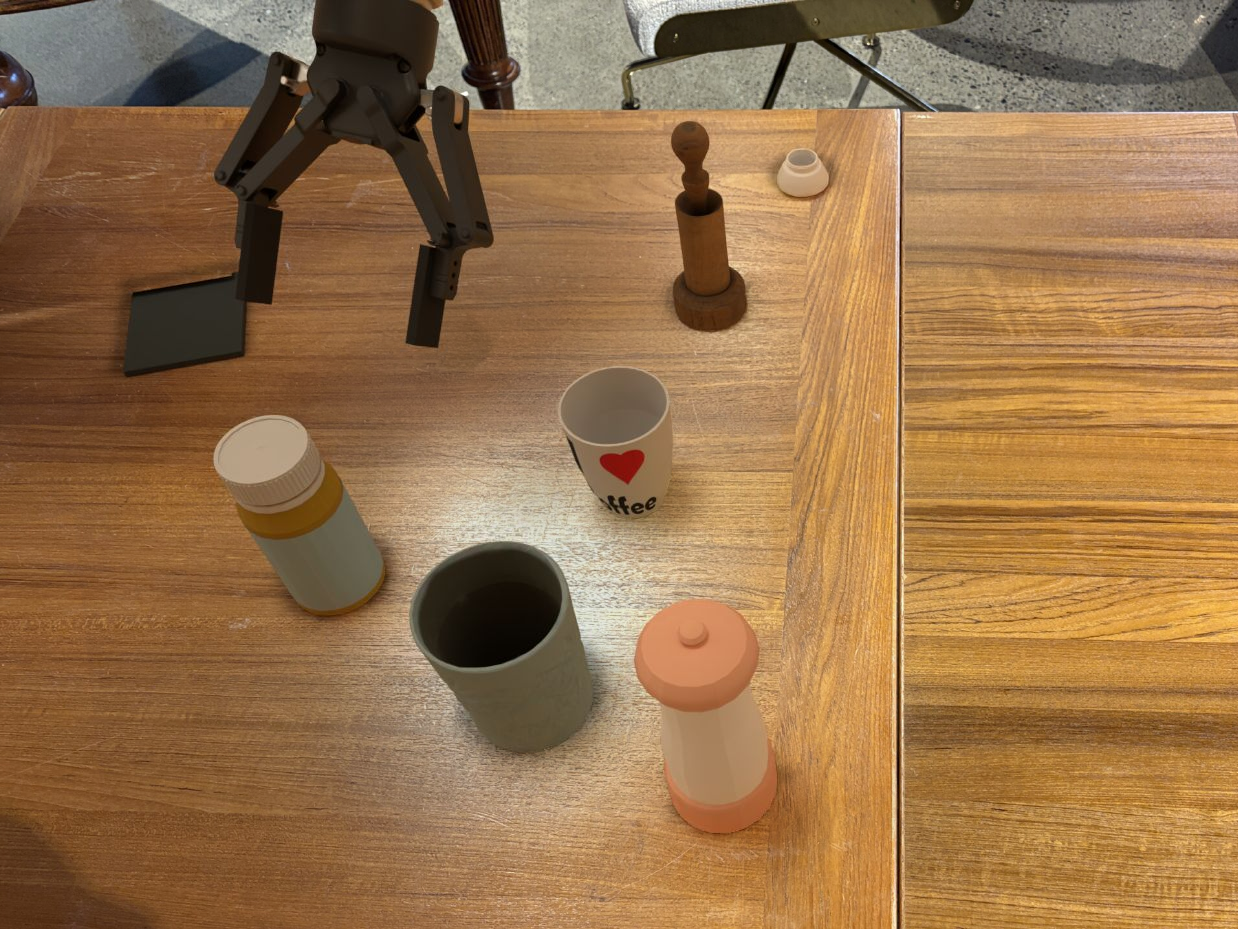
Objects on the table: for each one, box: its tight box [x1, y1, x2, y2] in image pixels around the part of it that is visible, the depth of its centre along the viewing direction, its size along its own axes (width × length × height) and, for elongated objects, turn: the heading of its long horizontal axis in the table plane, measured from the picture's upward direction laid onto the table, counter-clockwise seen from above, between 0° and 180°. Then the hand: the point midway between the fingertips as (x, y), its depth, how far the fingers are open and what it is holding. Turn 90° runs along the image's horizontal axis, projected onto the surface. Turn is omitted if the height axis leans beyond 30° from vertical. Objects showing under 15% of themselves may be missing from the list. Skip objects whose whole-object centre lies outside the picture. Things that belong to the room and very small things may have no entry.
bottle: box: [213, 414, 387, 616], centre depth 85 cm, size 7×7×15 cm
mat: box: [122, 271, 247, 377], centre depth 107 cm, size 10×11×1 cm
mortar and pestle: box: [670, 120, 748, 332], centre depth 100 cm, size 7×6×18 cm
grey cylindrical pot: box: [408, 540, 595, 753], centre depth 80 cm, size 10×10×12 cm
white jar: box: [776, 147, 830, 198], centre depth 116 cm, size 5×3×5 cm
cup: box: [557, 365, 674, 520], centre depth 91 cm, size 8×8×10 cm
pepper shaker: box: [633, 598, 778, 834], centre depth 73 cm, size 7×7×19 cm
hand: (336, 324), depth 82 cm, fingers open, 13 cm apart
